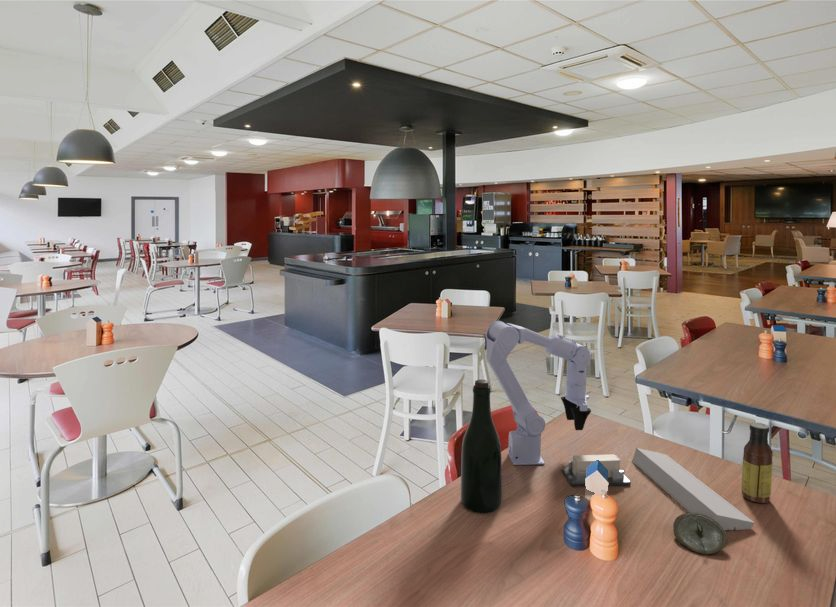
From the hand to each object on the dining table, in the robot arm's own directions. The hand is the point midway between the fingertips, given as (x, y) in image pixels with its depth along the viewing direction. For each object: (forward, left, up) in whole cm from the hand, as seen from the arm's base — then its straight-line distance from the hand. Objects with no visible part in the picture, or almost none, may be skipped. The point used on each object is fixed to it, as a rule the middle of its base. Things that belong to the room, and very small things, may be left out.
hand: (574, 424), depth 150 cm
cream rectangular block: (+1, -15, -8) cm, 17 cm away
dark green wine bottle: (-33, -26, -10) cm, 43 cm away
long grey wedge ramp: (+22, -23, -10) cm, 34 cm away
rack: (+1, -15, -9) cm, 18 cm away
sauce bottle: (+38, -27, -10) cm, 48 cm away
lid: (+14, -43, -10) cm, 46 cm away
